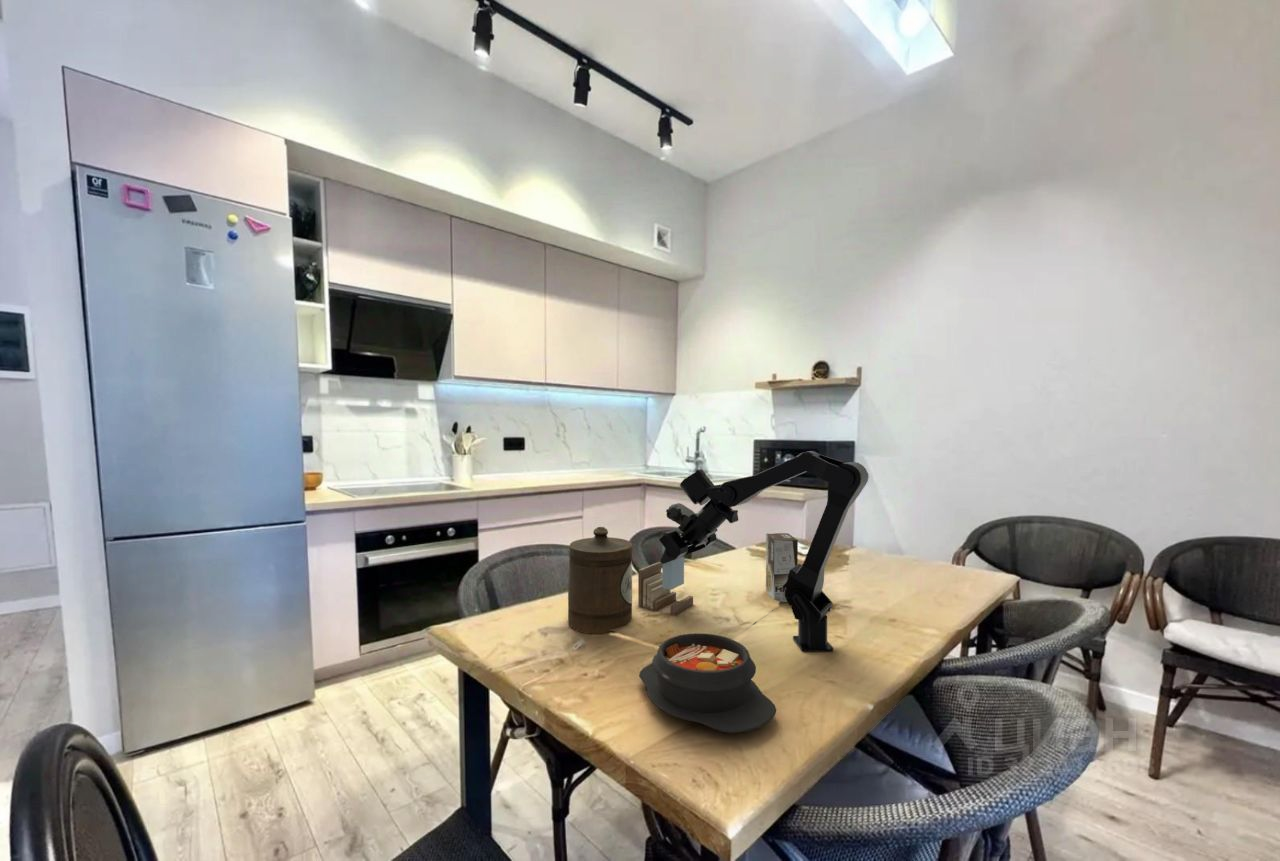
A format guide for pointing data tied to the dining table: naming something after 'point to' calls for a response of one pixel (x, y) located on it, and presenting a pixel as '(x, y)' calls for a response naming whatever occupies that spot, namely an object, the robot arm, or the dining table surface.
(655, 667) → the casserole
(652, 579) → the walnut rack
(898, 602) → the dining table surface
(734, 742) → the dining table surface
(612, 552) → the wooden container
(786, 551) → the coffee box
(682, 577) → the grey-blue panel
